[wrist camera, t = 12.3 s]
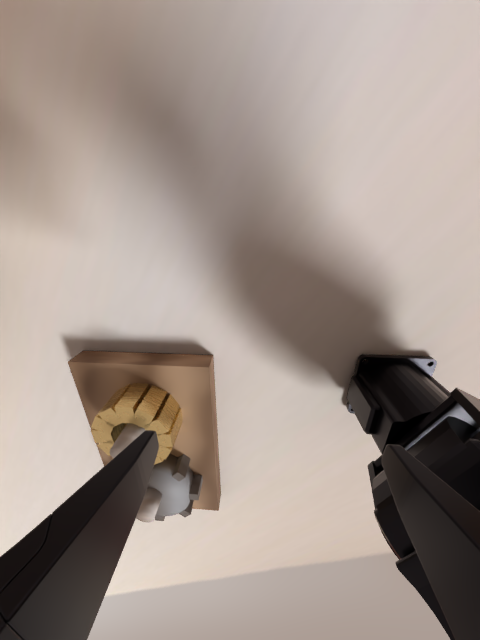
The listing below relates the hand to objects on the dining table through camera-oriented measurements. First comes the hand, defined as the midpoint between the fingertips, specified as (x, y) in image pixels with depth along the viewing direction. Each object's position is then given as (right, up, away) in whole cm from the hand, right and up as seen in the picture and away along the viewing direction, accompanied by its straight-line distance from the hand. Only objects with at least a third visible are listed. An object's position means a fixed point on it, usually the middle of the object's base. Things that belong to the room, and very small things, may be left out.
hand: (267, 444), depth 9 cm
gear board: (-10, -8, +17) cm, 21 cm away
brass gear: (-10, -4, +13) cm, 17 cm away
